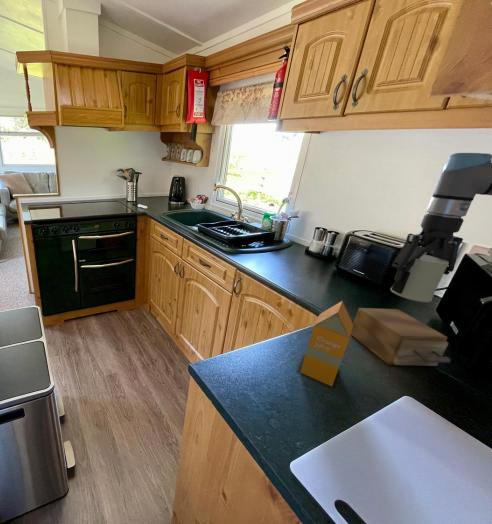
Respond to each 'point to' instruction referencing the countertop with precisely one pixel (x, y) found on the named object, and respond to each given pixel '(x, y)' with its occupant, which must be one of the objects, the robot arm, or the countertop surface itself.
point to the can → (423, 278)
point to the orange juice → (327, 344)
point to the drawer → (421, 352)
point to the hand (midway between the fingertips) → (411, 292)
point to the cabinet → (389, 331)
